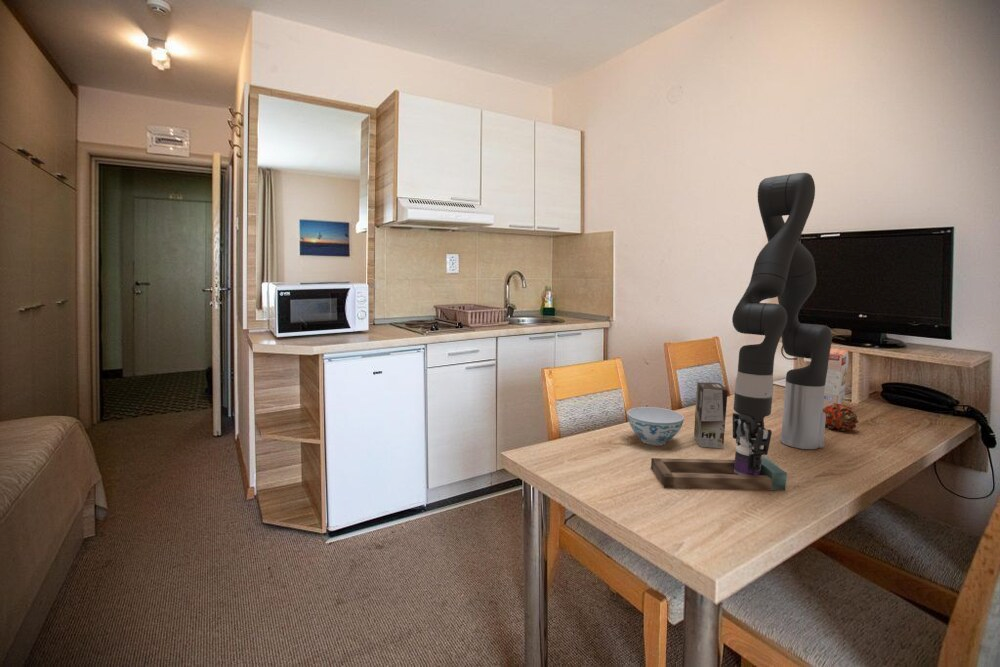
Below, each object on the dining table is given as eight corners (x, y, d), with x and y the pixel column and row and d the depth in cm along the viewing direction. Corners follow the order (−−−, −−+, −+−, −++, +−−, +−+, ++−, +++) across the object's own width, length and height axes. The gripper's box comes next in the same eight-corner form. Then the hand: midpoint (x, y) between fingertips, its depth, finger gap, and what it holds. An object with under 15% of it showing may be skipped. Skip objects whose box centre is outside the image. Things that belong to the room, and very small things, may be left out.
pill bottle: (758, 486, 111) (762, 444, 110) (731, 481, 114) (735, 439, 113) (760, 478, 116) (764, 437, 115) (735, 473, 119) (738, 433, 118)
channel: (760, 470, 120) (761, 454, 120) (785, 490, 110) (786, 472, 109) (651, 468, 121) (651, 452, 121) (664, 487, 110) (665, 470, 110)
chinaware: (621, 432, 148) (622, 406, 147) (672, 433, 148) (674, 407, 147) (632, 450, 133) (634, 422, 132) (690, 451, 133) (692, 423, 132)
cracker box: (837, 416, 166) (844, 354, 164) (816, 413, 170) (822, 352, 167) (844, 408, 177) (850, 349, 174) (824, 405, 181) (830, 347, 178)
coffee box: (724, 449, 135) (728, 389, 133) (698, 447, 136) (702, 388, 134) (717, 438, 144) (720, 382, 142) (693, 436, 145) (696, 381, 143)
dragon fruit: (855, 440, 147) (817, 434, 159) (871, 421, 150) (832, 416, 161) (842, 419, 146) (804, 413, 157) (858, 399, 148) (819, 395, 159)
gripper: (787, 400, 105) (780, 478, 107) (755, 385, 120) (749, 454, 122) (751, 400, 106) (745, 477, 108) (723, 384, 120) (718, 453, 122)
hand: (747, 464), depth 115 cm, fingers closed on pill bottle, 5 cm apart
